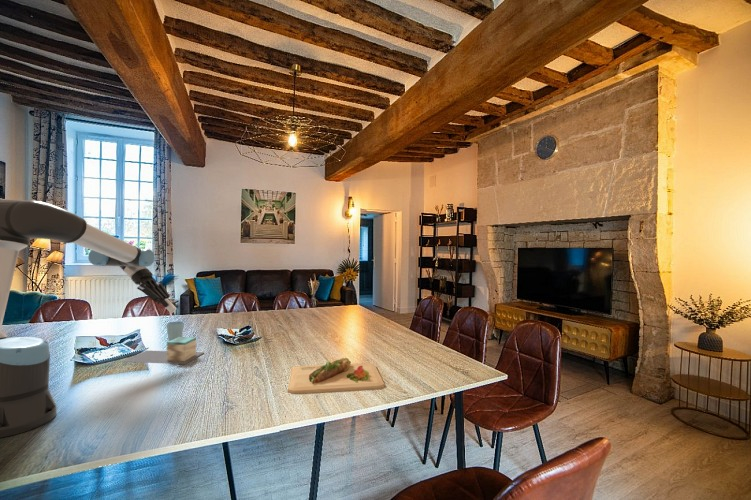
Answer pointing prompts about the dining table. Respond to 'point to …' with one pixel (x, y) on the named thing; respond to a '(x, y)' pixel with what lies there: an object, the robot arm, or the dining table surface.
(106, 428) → the dining table surface
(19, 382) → the robot arm
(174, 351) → the maple cube
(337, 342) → the dining table surface
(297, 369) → the cutting board
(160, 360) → the rubber mat
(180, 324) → the cup
